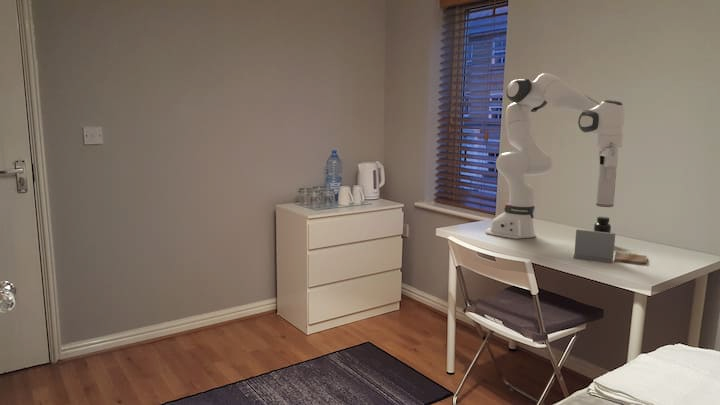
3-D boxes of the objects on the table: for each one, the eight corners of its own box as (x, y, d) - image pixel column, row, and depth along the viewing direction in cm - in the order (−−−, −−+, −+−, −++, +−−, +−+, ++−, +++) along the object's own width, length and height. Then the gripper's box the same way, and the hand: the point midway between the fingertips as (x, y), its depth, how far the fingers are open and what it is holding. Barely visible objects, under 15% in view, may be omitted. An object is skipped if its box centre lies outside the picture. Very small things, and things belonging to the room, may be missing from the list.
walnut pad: (614, 261, 205) (614, 258, 205) (615, 254, 215) (615, 252, 215) (646, 265, 200) (646, 262, 200) (646, 258, 210) (646, 255, 210)
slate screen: (573, 258, 209) (575, 231, 207) (574, 255, 212) (576, 229, 210) (612, 263, 202) (614, 235, 201) (612, 260, 206) (615, 233, 204)
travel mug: (592, 205, 213) (595, 155, 210) (606, 204, 214) (610, 155, 211) (602, 207, 207) (606, 156, 204) (616, 207, 208) (621, 156, 205)
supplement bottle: (611, 246, 228) (613, 219, 225) (594, 245, 229) (596, 218, 227) (607, 242, 234) (609, 216, 232) (590, 241, 236) (593, 215, 233)
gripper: (623, 143, 196) (620, 180, 198) (613, 141, 215) (611, 175, 217) (604, 143, 198) (601, 180, 200) (597, 141, 217) (594, 174, 219)
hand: (606, 177), depth 209 cm, fingers closed on travel mug, 6 cm apart
